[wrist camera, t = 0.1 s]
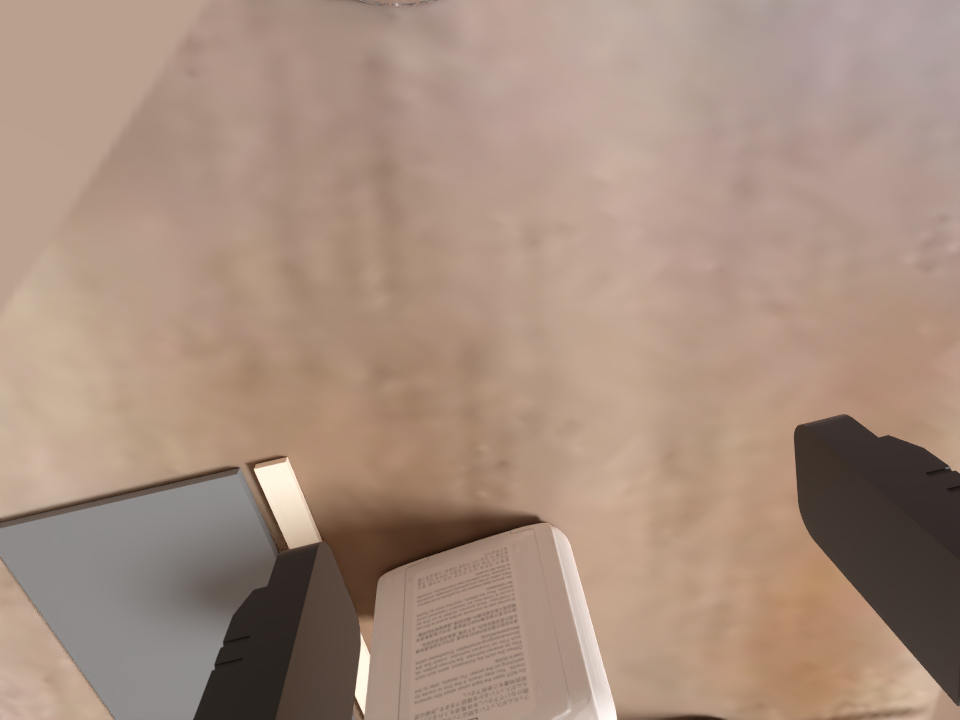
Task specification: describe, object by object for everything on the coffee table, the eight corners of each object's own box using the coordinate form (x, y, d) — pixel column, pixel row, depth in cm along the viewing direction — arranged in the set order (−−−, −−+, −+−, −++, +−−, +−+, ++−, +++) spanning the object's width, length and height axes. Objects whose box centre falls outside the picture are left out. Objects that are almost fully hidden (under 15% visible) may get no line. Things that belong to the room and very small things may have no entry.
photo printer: (397, 627, 35) (384, 894, 24) (364, 570, 34) (334, 831, 22) (579, 567, 35) (653, 815, 23) (556, 506, 33) (624, 743, 22)
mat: (-11, 525, 31) (-17, 532, 30) (287, 457, 30) (285, 463, 30) (182, 802, 40) (180, 811, 40) (410, 753, 40) (410, 761, 39)
